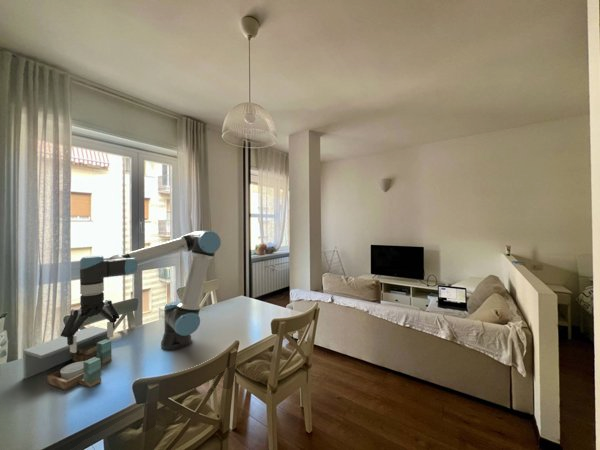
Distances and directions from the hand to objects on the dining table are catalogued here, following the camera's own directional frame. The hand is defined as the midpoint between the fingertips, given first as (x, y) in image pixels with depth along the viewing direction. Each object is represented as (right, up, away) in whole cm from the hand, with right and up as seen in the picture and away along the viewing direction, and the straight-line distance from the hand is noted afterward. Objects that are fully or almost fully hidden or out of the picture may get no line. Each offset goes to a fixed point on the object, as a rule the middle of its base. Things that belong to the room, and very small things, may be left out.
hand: (92, 344), depth 103 cm
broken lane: (-15, -17, +19) cm, 29 cm away
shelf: (-22, -17, +14) cm, 31 cm away
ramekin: (-12, -17, +5) cm, 22 cm away
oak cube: (-19, -17, +20) cm, 32 cm away
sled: (-8, -16, +3) cm, 18 cm away
